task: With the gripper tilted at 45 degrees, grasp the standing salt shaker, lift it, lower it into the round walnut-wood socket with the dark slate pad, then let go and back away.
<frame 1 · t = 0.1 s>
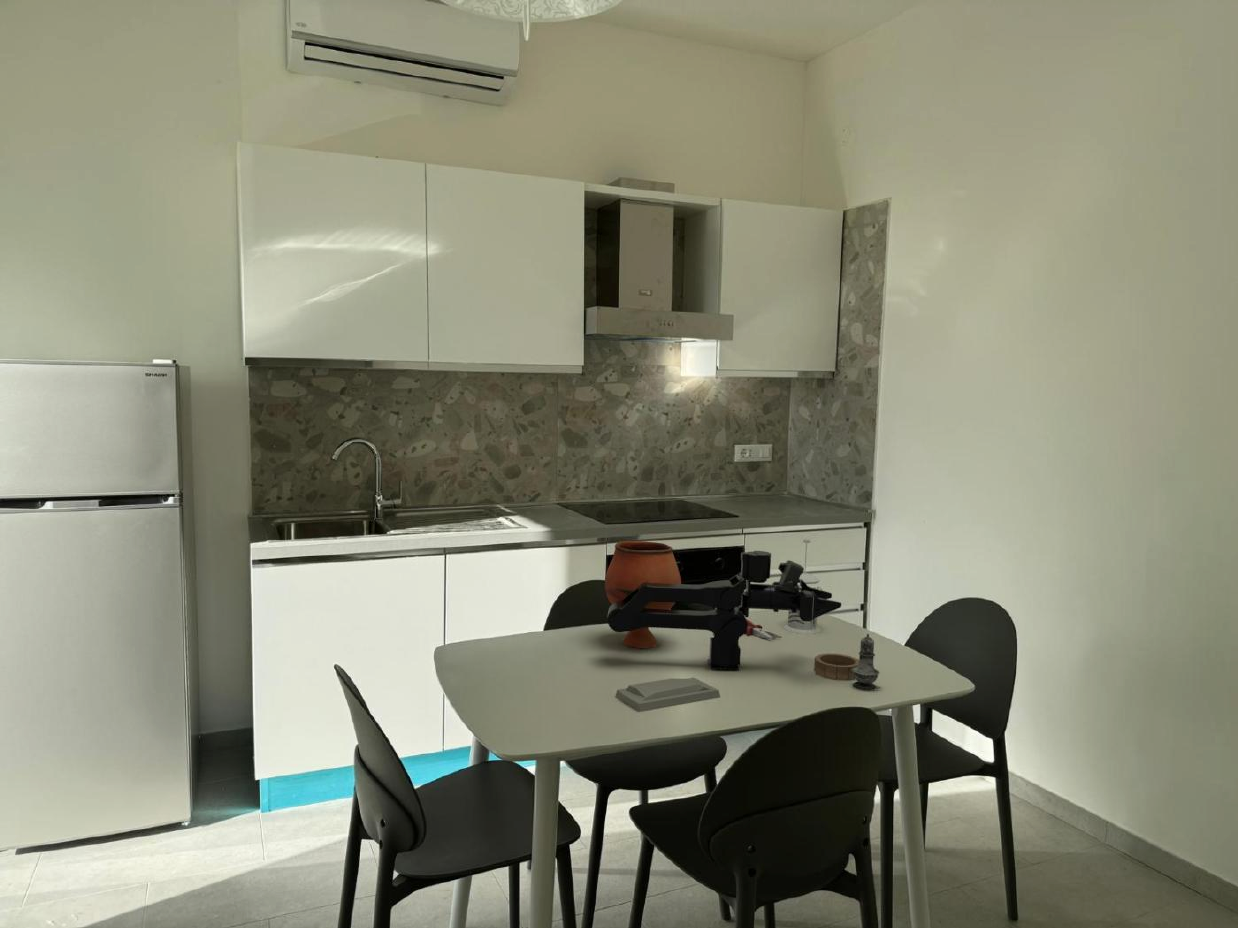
hand: (836, 600, 207), 17 cm above the table, tool horizontal, fingers open, 9 cm apart
salt shaker: (864, 687, 198), on the table
pliers: (740, 634, 239), on the table
goblet: (640, 644, 225), on the table
shaker socket: (836, 672, 207), on the table
french press: (804, 630, 244), on the table
grey stepped rectangular block: (667, 700, 187), on the table
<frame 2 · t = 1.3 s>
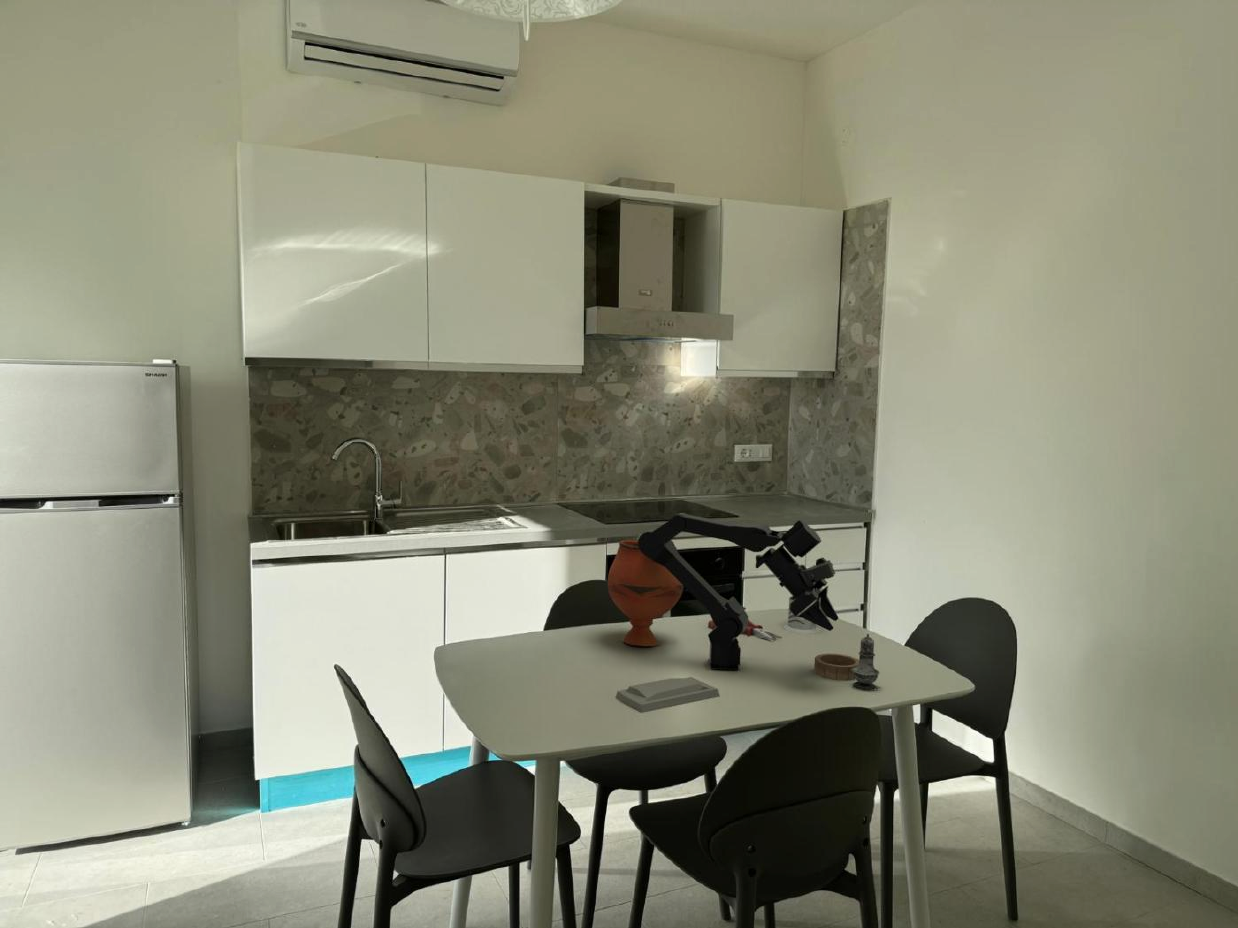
hand: (834, 624, 199), 13 cm above the table, tool tilted 45°, fingers open, 9 cm apart
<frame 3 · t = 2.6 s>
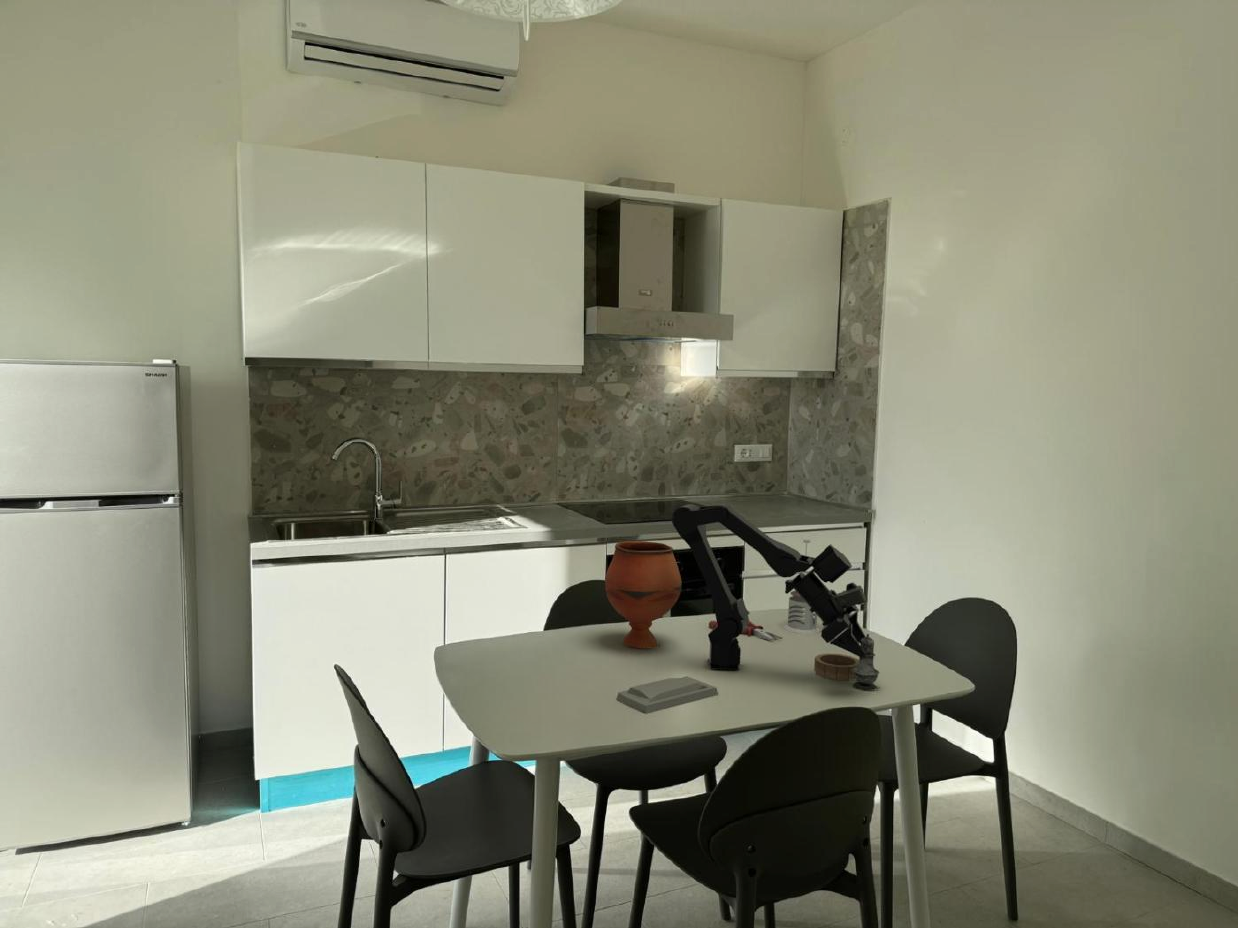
hand: (865, 650, 197), 8 cm above the table, tool tilted 45°, fingers open, 9 cm apart
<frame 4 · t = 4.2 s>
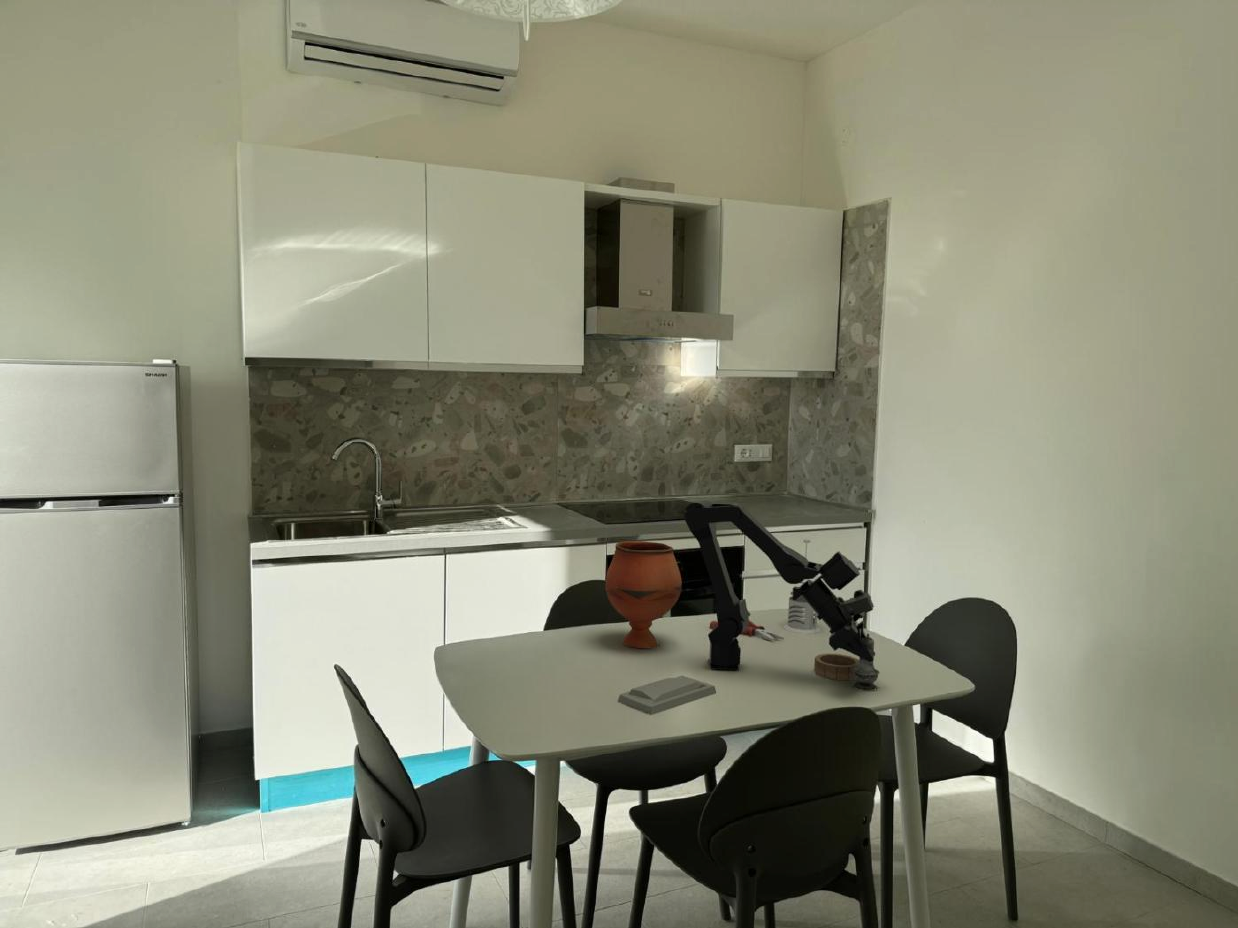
hand: (873, 658, 197), 7 cm above the table, tool tilted 45°, fingers closed on salt shaker, 4 cm apart
salt shaker: (864, 687, 198), on the table, touching gripper
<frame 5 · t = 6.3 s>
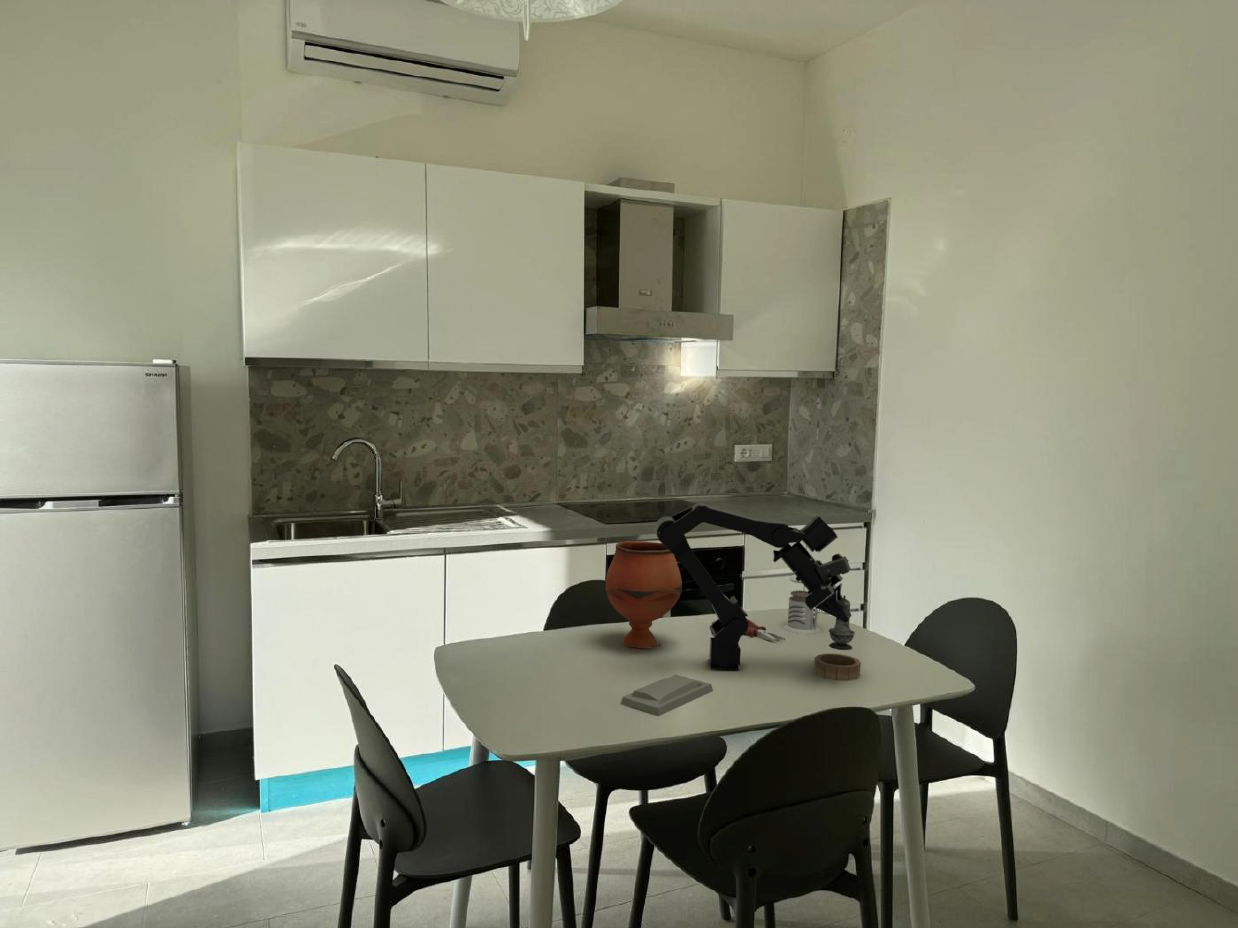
hand: (848, 619, 204), 13 cm above the table, tool tilted 45°, fingers closed on salt shaker, 4 cm apart
salt shaker: (840, 647, 205), point 6 cm above the table, touching gripper
when the fingers open (8 cm above the table, at t = 8.4 s): salt shaker stays where it is, resting on shaker socket.
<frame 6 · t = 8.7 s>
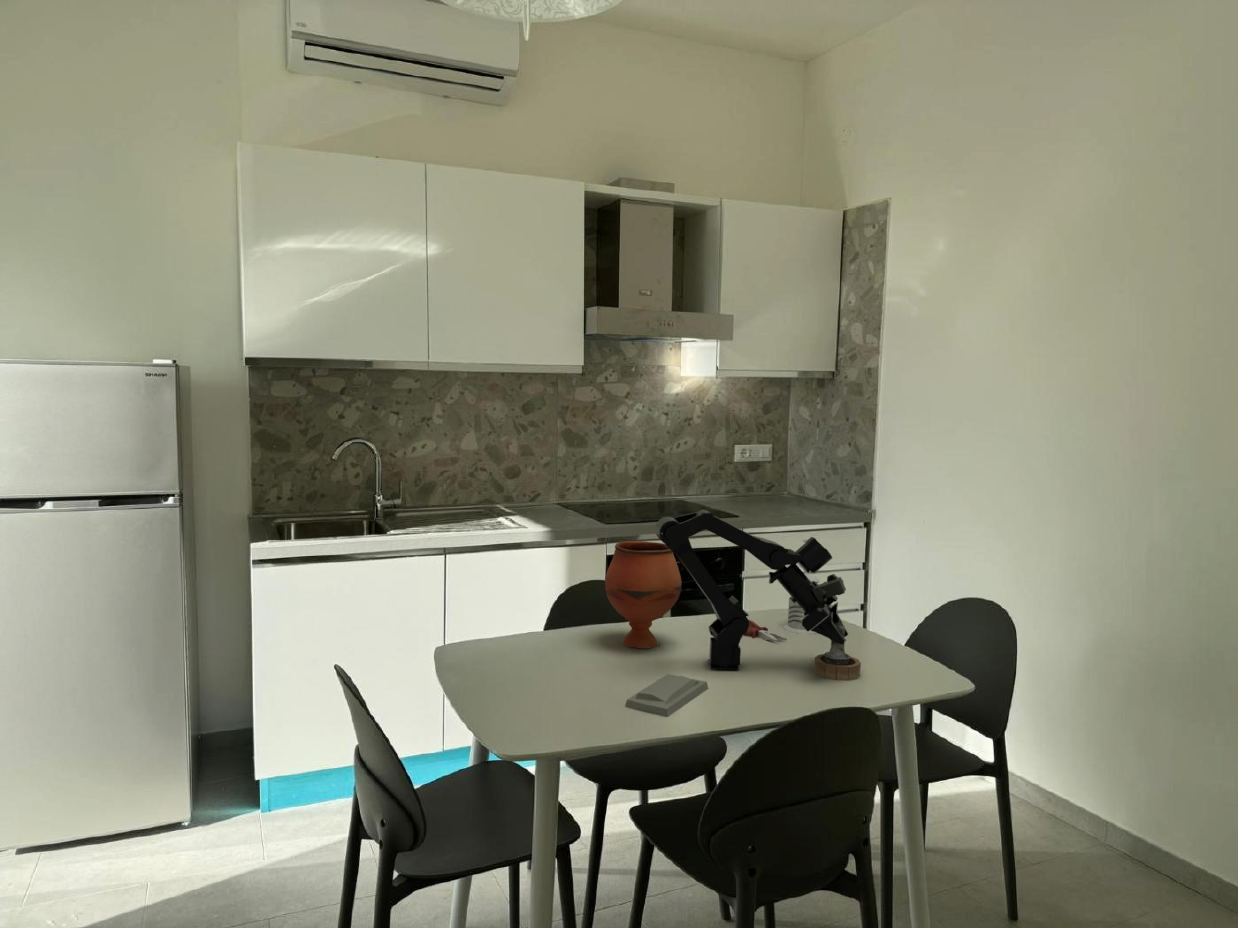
hand: (845, 639, 206), 8 cm above the table, tool tilted 45°, fingers open, 6 cm apart
salt shaker: (836, 671, 207), resting on shaker socket
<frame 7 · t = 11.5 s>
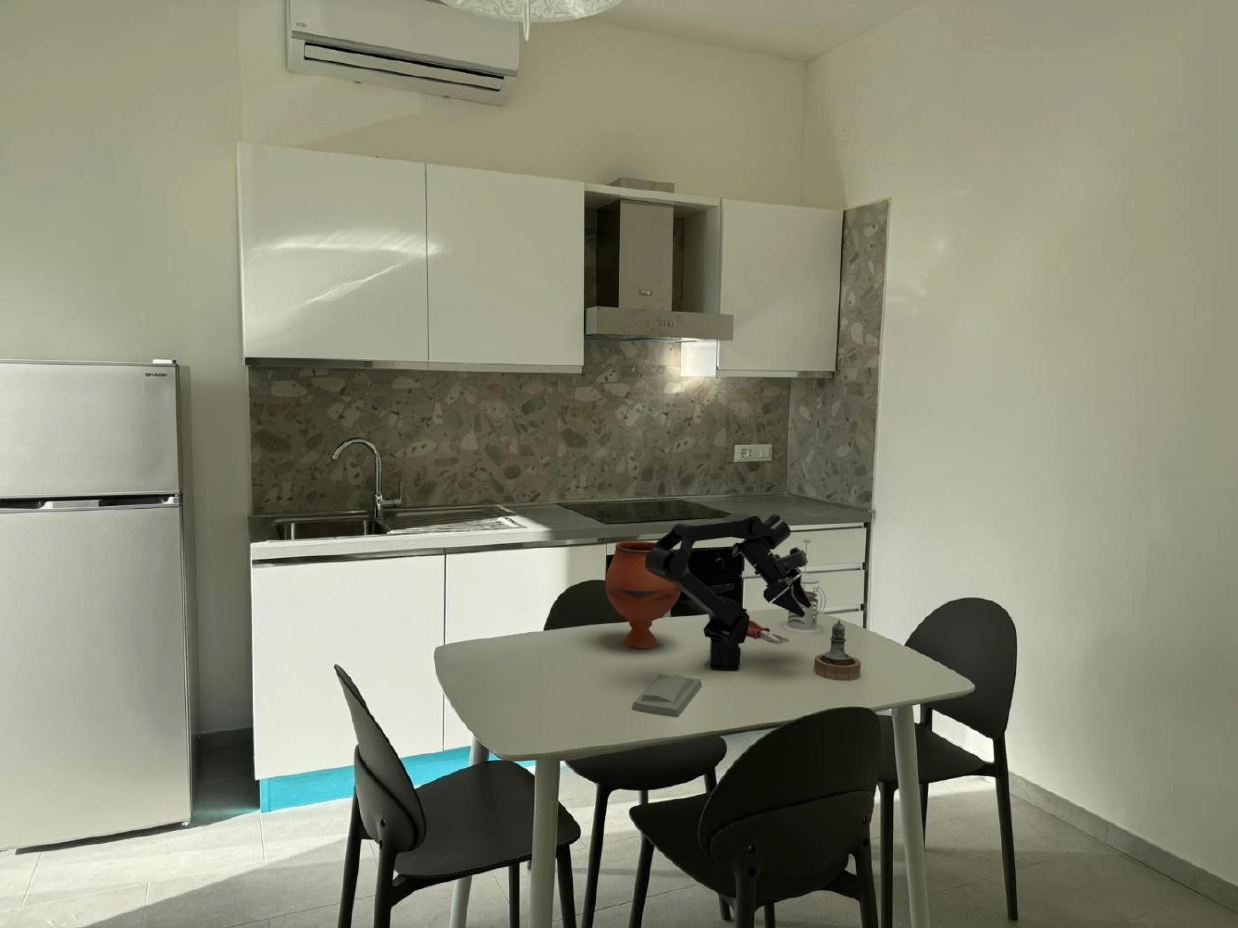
hand: (807, 611, 208), 14 cm above the table, tool tilted 45°, fingers open, 9 cm apart
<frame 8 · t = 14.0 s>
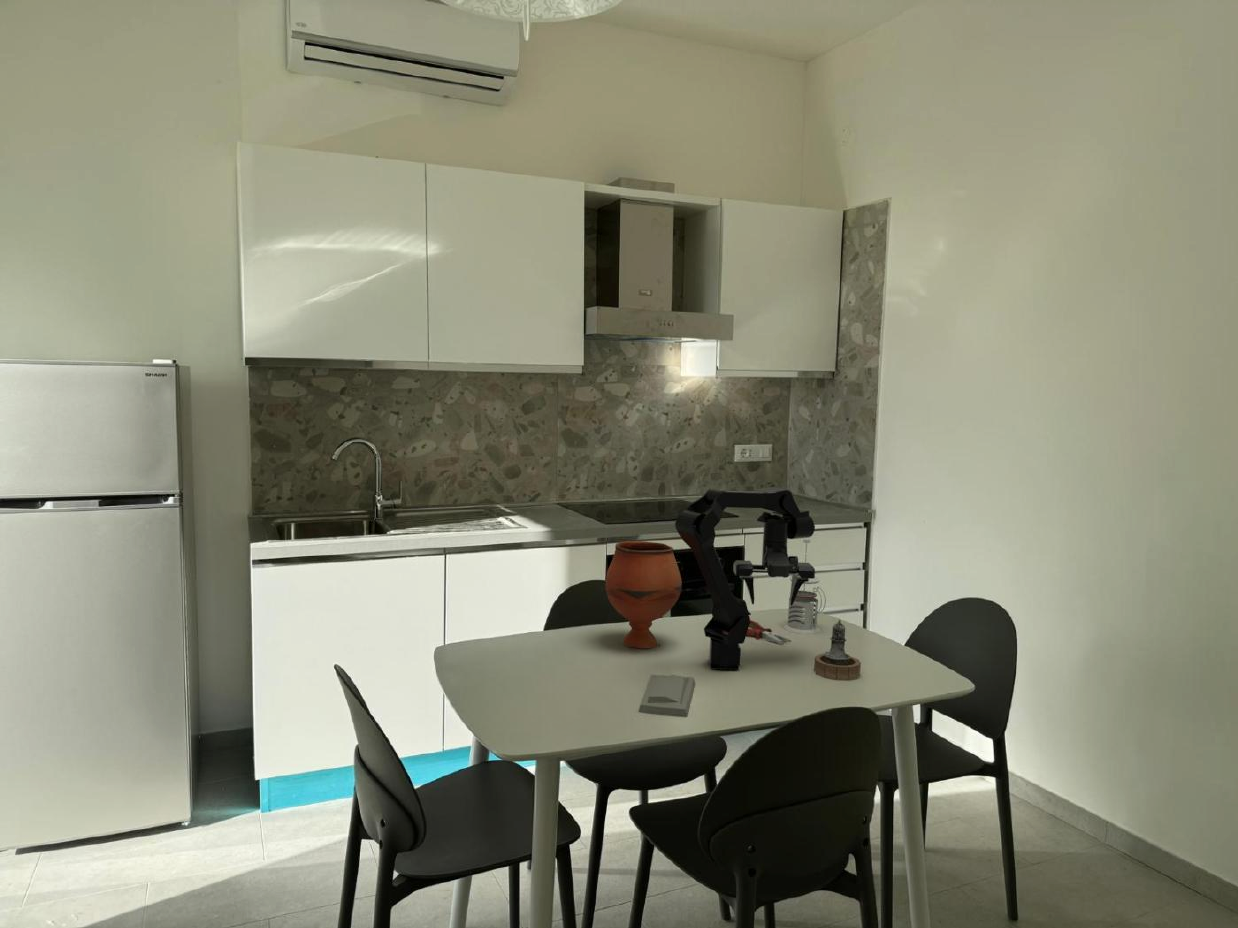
hand: (771, 604, 216), 13 cm above the table, tool pointing down, fingers open, 9 cm apart
at the end: salt shaker 0.2 cm off-centre on the shaker socket, point 0.3 cm above the shaker socket's base; salt shaker tilted 0°; the gripper is holding nothing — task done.
